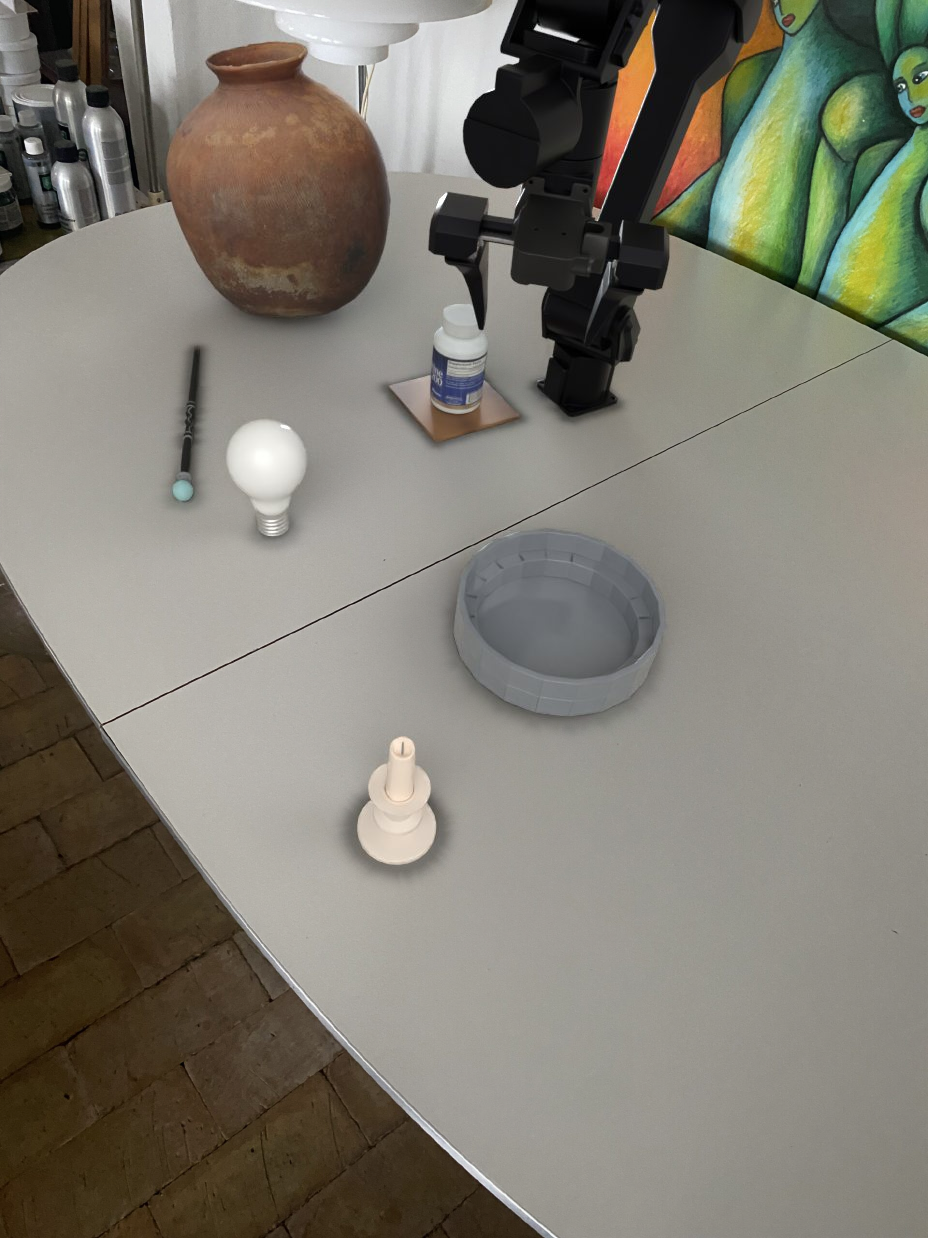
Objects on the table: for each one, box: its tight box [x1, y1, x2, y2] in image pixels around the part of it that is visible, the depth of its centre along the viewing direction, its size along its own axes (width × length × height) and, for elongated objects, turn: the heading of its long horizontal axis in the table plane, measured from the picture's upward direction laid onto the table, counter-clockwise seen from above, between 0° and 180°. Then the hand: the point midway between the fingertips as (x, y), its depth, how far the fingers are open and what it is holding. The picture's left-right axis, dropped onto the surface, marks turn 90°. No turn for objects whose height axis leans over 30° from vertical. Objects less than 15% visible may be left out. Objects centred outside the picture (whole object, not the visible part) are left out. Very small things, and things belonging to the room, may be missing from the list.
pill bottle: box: [430, 303, 489, 414], centre depth 86 cm, size 5×5×10 cm
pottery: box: [165, 40, 392, 319], centre depth 92 cm, size 23×23×25 cm
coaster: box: [388, 374, 521, 444], centre depth 90 cm, size 10×10×1 cm
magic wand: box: [171, 345, 200, 502], centre depth 84 cm, size 2×25×2 cm
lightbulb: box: [225, 417, 308, 537], centre depth 71 cm, size 6×6×11 cm
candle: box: [356, 736, 437, 866], centre depth 54 cm, size 5×5×10 cm
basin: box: [452, 528, 667, 718], centre depth 69 cm, size 16×16×4 cm
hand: (533, 336), depth 76 cm, fingers open, 9 cm apart
